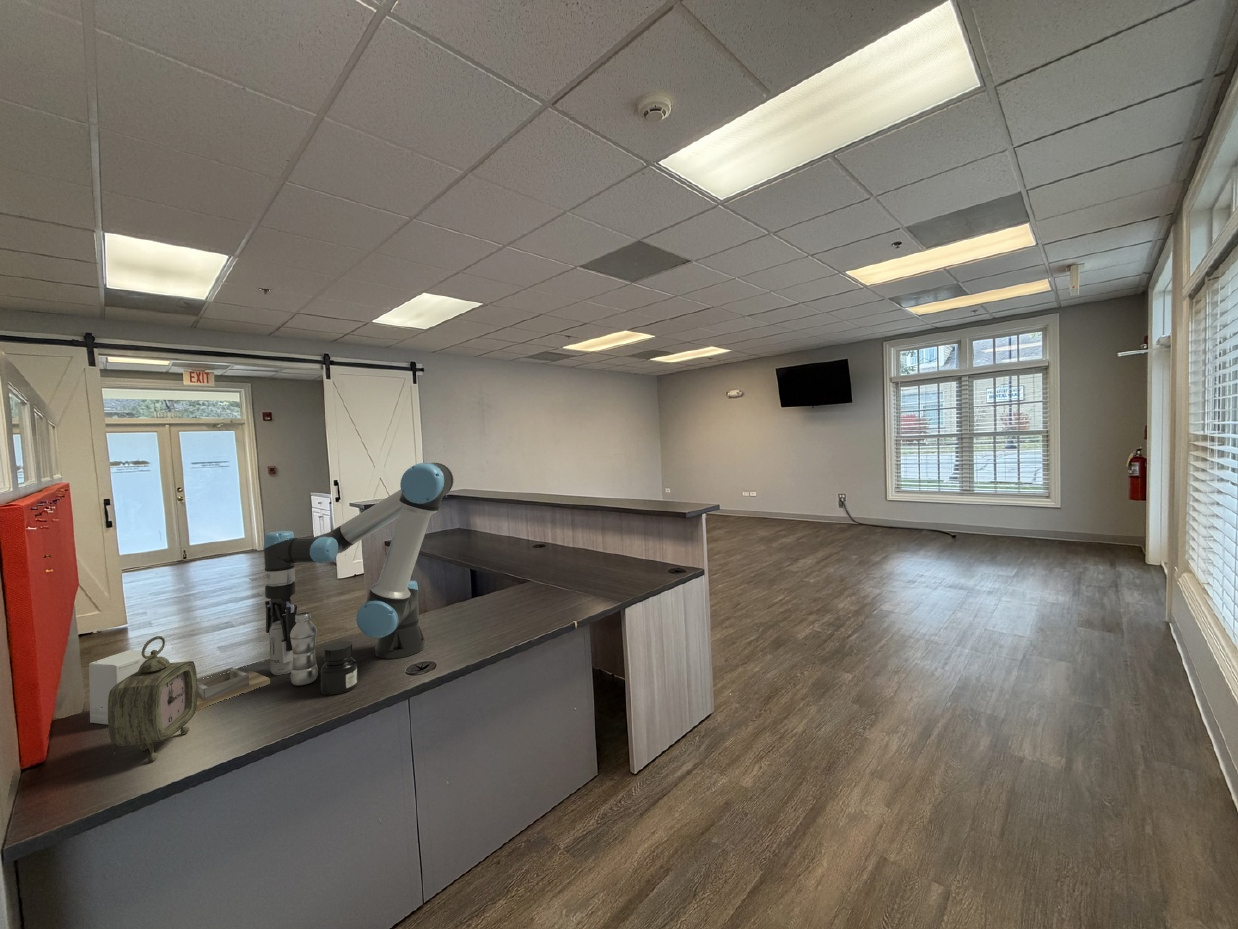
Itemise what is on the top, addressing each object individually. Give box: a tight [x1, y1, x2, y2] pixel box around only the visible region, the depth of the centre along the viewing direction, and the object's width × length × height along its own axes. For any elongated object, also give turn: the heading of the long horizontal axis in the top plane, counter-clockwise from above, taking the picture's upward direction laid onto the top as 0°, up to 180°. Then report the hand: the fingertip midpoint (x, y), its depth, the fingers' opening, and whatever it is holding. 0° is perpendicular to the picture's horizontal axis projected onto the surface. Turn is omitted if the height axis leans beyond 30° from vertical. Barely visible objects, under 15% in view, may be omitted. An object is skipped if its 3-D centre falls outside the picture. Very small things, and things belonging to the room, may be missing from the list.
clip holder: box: [195, 666, 271, 712], centre depth 137 cm, size 11×20×4 cm, turn 150°
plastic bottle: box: [290, 611, 319, 686], centre depth 142 cm, size 6×7×20 cm
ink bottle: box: [320, 640, 358, 696], centre depth 139 cm, size 10×9×12 cm
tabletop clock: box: [107, 635, 198, 762], centre depth 111 cm, size 14×9×25 cm, turn 12°
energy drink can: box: [268, 621, 293, 676], centre depth 150 cm, size 6×6×15 cm
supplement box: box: [88, 649, 151, 725], centre depth 126 cm, size 9×9×15 cm
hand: (282, 659), depth 150 cm, fingers closed on energy drink can, 6 cm apart
